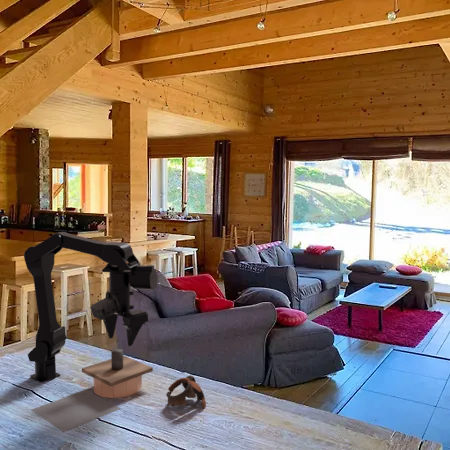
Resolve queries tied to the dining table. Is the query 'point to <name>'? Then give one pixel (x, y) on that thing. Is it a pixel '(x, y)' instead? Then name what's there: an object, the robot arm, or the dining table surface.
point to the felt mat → (75, 410)
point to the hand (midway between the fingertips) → (120, 341)
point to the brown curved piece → (186, 392)
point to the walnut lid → (117, 369)
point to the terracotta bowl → (118, 388)
